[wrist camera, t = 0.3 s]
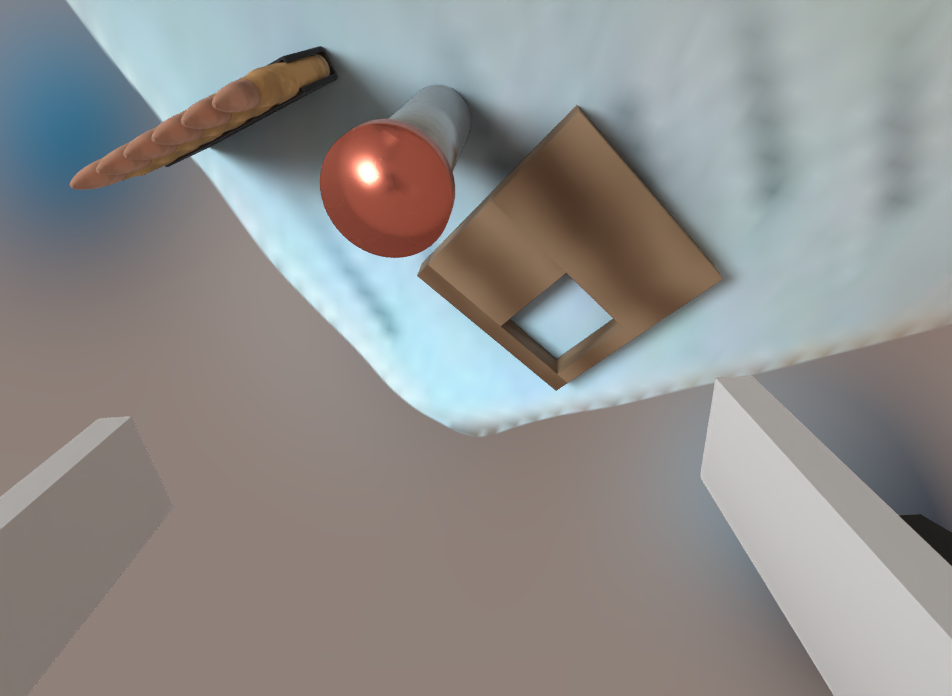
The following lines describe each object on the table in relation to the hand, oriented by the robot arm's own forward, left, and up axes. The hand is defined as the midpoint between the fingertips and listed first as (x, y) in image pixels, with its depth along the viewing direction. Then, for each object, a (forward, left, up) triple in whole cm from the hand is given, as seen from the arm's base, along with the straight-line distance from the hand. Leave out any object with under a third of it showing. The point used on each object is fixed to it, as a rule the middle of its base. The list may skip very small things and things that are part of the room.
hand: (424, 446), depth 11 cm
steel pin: (+1, -4, -25) cm, 25 cm away
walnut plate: (+2, +9, -25) cm, 27 cm away
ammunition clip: (+8, -13, -25) cm, 29 cm away
